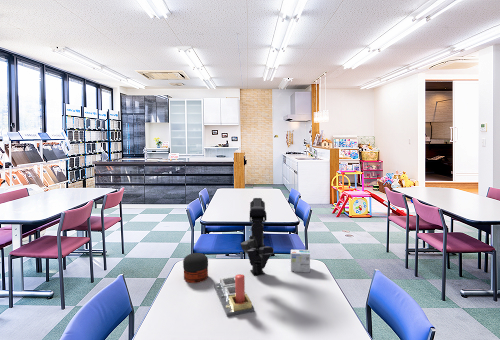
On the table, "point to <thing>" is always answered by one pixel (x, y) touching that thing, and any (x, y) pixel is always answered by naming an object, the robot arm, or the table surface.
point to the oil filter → (195, 267)
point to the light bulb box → (300, 260)
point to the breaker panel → (231, 298)
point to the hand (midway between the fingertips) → (257, 266)
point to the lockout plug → (239, 288)
